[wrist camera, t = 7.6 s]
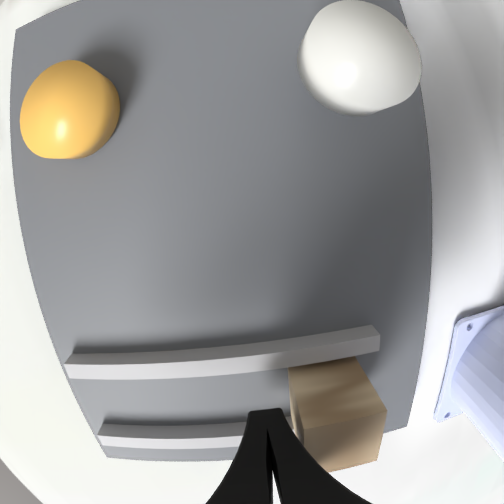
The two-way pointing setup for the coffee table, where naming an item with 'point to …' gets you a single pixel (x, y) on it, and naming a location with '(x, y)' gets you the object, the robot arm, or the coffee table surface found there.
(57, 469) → the coffee table surface
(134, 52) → the panel
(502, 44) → the coffee table surface
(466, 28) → the coffee table surface
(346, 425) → the beige wooden cube
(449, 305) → the coffee table surface
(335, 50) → the white dome
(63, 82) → the amber button
